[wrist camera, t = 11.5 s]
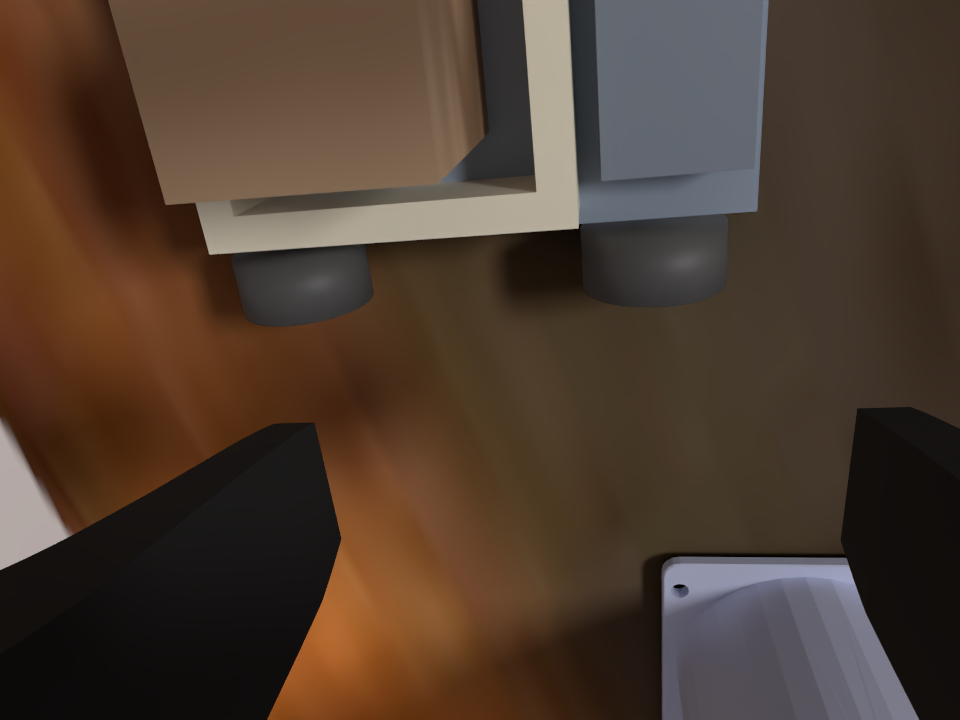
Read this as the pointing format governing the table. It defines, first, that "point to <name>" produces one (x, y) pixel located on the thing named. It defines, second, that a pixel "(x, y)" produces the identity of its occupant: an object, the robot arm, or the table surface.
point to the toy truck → (551, 161)
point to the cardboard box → (303, 93)
